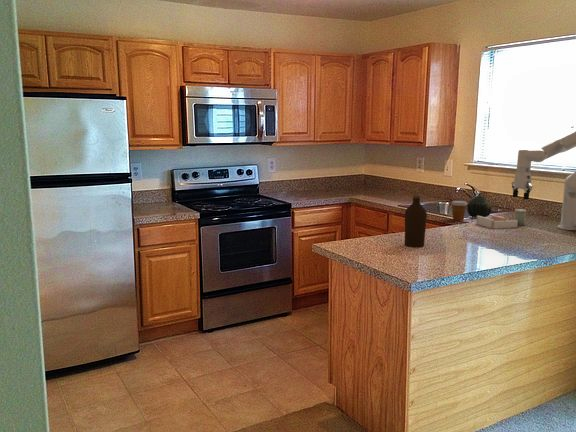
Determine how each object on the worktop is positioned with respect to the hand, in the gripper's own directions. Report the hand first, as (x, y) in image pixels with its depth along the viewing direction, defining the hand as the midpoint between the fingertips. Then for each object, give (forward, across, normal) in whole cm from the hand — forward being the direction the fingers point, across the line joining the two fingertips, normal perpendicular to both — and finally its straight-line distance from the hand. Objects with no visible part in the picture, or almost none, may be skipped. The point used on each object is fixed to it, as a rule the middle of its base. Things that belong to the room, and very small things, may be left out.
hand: (520, 198), depth 308 cm
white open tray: (+16, -1, +15) cm, 22 cm away
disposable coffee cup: (+17, +21, +27) cm, 39 cm away
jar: (+16, -1, -1) cm, 16 cm away
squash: (+17, +29, +7) cm, 35 cm away
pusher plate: (+16, -1, +14) cm, 21 cm away
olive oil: (+17, -39, +89) cm, 99 cm away
